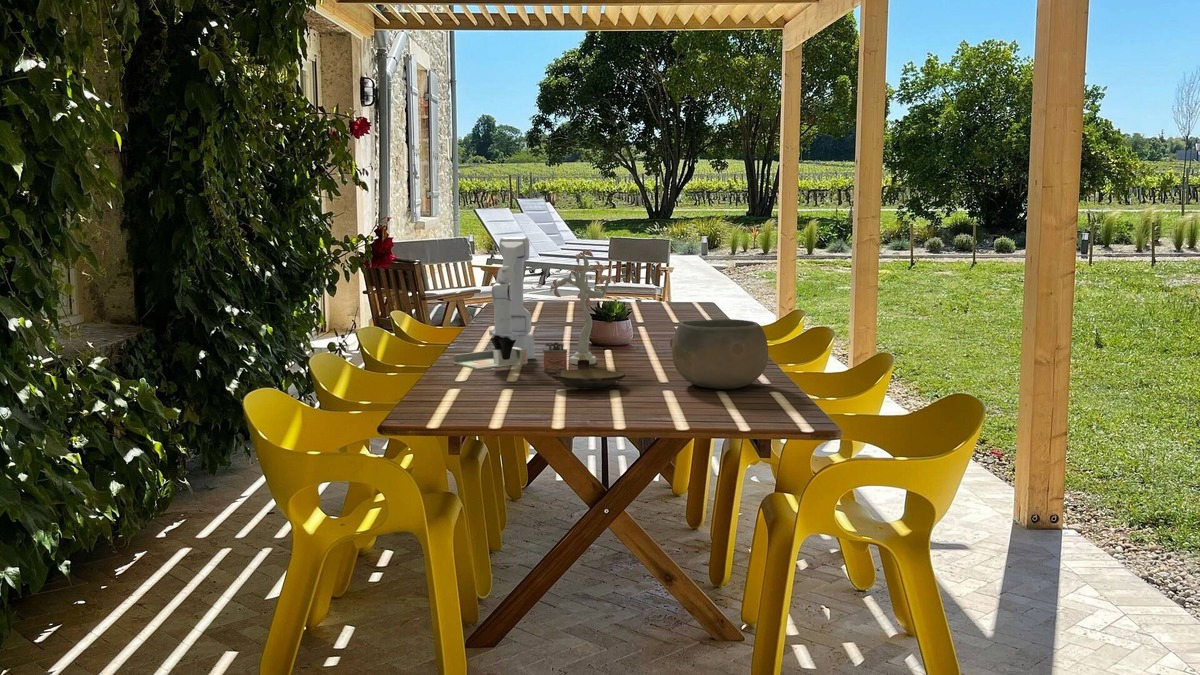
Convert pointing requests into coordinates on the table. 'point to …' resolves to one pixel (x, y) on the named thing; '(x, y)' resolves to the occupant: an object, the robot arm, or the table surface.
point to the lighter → (555, 357)
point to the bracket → (511, 356)
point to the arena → (477, 360)
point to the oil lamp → (587, 376)
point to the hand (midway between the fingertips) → (503, 358)
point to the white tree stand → (584, 301)
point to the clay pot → (720, 352)
